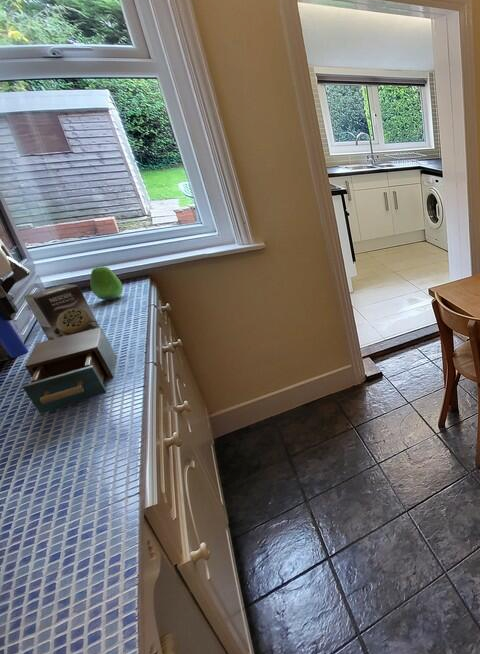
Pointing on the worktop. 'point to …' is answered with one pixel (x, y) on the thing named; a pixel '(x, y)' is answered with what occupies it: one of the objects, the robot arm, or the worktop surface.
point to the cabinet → (74, 350)
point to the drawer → (66, 382)
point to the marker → (11, 339)
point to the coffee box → (61, 311)
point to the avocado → (105, 283)
